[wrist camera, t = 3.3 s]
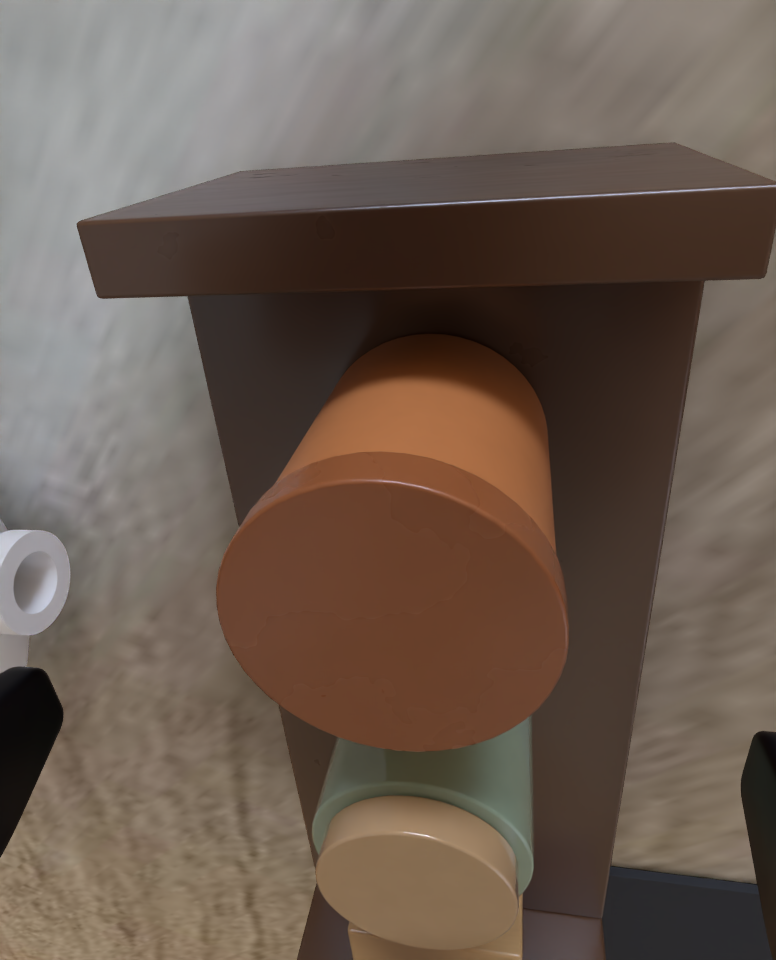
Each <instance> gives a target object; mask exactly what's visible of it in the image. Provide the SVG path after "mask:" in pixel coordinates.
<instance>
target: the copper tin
mask: <svg viewBox="0 0 776 960" xmlns="http://www.w3.org/2000/svg"><path fill="white" fill-rule="evenodd" d="M216 597H217V610H218V616H219V621H220V625H221V627H222V630H223V633H224V636H225V639H226V641H227V643H228V645H229V647H230V649H231V651H232V653H233V655H234V656H235V658H236V659H237V661H238V662H239V664H240V665H241V667H242V668H243V670H244V671H245V672H246V673H247V675H248V676H249V677H250V678H251V679H252V681H253V682H254V683H255V684H256V685H257V686H258V687H259V688H260V689H261V690H262V691H263V692H264V693H265V694H266V695H268V696H269V697H270V698H271V699H272V700H274V701H275V702H276V703H277V704H279V705H280V706H281V707H282V708H284V709H285V710H287V711H288V712H290V713H291V714H293V715H294V716H296V717H298V718H299V719H301V720H302V721H304V722H306V723H308V724H310V725H312V726H314V727H316V728H318V729H320V730H322V731H325V732H327V733H329V734H332V735H334V736H337V737H339V738H343V739H346V740H349V741H352V742H355V743H359V744H363V745H367V746H372V747H376V748H382V749H389V750H396V751H412V752H425V751H442V750H450V749H457V748H462V747H466V746H470V745H474V744H478V743H481V742H483V741H486V740H489V739H492V738H495V737H497V736H499V735H501V734H503V733H505V732H507V731H509V730H511V729H512V728H514V727H515V726H517V725H518V724H520V723H521V722H523V721H525V720H526V719H527V718H528V717H529V716H530V715H532V714H533V713H534V712H535V711H536V710H537V709H538V708H539V707H540V706H541V705H542V704H543V703H544V701H545V700H546V699H547V698H548V697H549V695H550V694H551V692H552V691H553V689H554V687H555V685H556V684H557V682H558V680H559V679H560V676H561V674H562V671H563V668H564V665H565V663H566V659H567V653H568V647H569V619H568V607H567V595H566V588H565V582H564V577H563V572H562V570H561V567H560V564H559V561H558V559H557V556H556V544H555V529H554V515H553V501H552V487H551V472H550V458H549V444H548V430H547V424H546V419H545V415H544V412H543V409H542V406H541V403H540V401H539V399H538V397H537V395H536V393H535V391H534V389H533V388H532V386H531V385H530V384H529V382H528V381H527V379H526V378H525V377H524V376H523V375H522V374H521V372H520V371H519V370H518V369H517V368H516V367H515V366H514V365H512V364H511V363H510V362H509V361H508V360H506V359H505V358H504V357H503V356H501V355H499V354H498V353H496V352H495V351H493V350H491V349H490V348H488V347H485V346H483V345H481V344H479V343H477V342H474V341H471V340H467V339H464V338H461V337H456V336H450V335H445V334H419V335H411V336H406V337H401V338H397V339H394V340H391V341H389V342H386V343H383V344H381V345H379V346H377V347H376V348H374V349H372V350H370V351H369V352H367V353H366V354H364V355H363V356H362V357H360V358H359V359H358V360H357V361H356V362H354V363H353V364H352V365H351V366H350V367H349V368H348V369H347V371H346V372H345V373H344V375H343V376H342V377H341V378H340V380H339V381H338V383H337V385H336V386H335V388H334V390H333V391H332V393H331V394H330V396H329V398H328V399H327V401H326V402H325V404H324V406H323V407H322V409H321V410H320V412H319V414H318V415H317V417H316V419H315V420H314V422H313V423H312V425H311V427H310V428H309V430H308V431H307V433H306V435H305V436H304V438H303V439H302V441H301V443H300V444H299V446H298V448H297V449H296V451H295V452H294V454H293V456H292V457H291V459H290V460H289V462H288V464H287V465H286V467H285V468H284V470H283V472H282V473H281V475H280V477H279V478H278V480H277V481H276V483H275V484H274V485H273V486H272V487H271V488H270V489H269V490H268V491H267V492H265V493H264V494H263V495H262V496H261V497H260V499H259V500H258V501H257V502H256V504H255V505H254V506H253V507H252V509H251V510H250V511H249V513H248V515H247V516H246V518H245V519H244V521H243V522H242V524H241V525H240V527H239V529H238V530H237V532H236V533H235V535H234V536H233V538H232V540H231V542H230V544H229V545H228V547H227V549H226V551H225V553H224V556H223V558H222V561H221V564H220V567H219V572H218V578H217V585H216Z"/></svg>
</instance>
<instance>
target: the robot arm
mask: <svg viewBox="0 0 776 960" xmlns="http://www.w3.org/2000/svg"><path fill="white" fill-rule="evenodd" d="M63 715H64V713H63V707H62V705H61V703H60V700H59V698H58V696H57V694H56V692H55V690H54V687H53V685H52V683H51V681H50V679H49V676H48V675H47V673H46V672H45V671H44V670H42V669H40V668H33V667H22V666H17V667H12V668H9V669H7V670H5V671H4V672H2V673H0V857H1V856H2V854H3V852H4V850H5V848H6V846H7V844H8V842H9V841H10V839H11V837H12V835H13V833H14V831H15V829H16V826H17V824H18V822H19V820H20V818H21V816H22V814H23V811H24V809H25V807H26V805H27V803H28V800H29V798H30V796H31V794H32V791H33V789H34V787H35V785H36V782H37V780H38V778H39V776H40V774H41V771H42V769H43V767H44V765H45V762H46V760H47V758H48V756H49V753H50V751H51V749H52V747H53V744H54V742H55V740H56V738H57V736H58V733H59V731H60V729H61V726H62V722H63ZM741 797H742V803H743V808H744V814H745V819H746V825H747V830H748V836H749V841H750V847H751V852H752V858H753V863H754V869H755V874H756V880H757V885H758V891H759V896H760V902H761V907H762V913H763V918H764V923H765V928H766V933H767V938H768V943H769V947H770V951H771V955H772V958H773V960H776V732H767V731H760V732H758V733H756V734H755V735H754V737H753V739H752V743H751V746H750V749H749V753H748V756H747V760H746V763H745V767H744V770H743V774H742V778H741Z"/></svg>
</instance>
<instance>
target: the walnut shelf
mask: <svg viewBox="0 0 776 960" xmlns="http://www.w3.org/2000/svg"><path fill="white" fill-rule="evenodd" d="M77 229H78V232H79V236H80V239H81V242H82V246H83V249H84V253H85V256H86V260H87V263H88V267H89V270H90V273H91V277H92V280H93V284H94V287H95V291H96V294H97V296H98V298H102V299H108V298H141V297H175V296H188V300H189V305H190V309H191V314H192V318H193V323H194V327H195V332H196V336H197V341H198V345H199V350H200V354H201V359H202V363H203V368H204V372H205V377H206V381H207V385H208V390H209V394H210V399H211V403H212V408H213V412H214V417H215V421H216V426H217V430H218V435H219V439H220V444H221V448H222V453H223V457H224V462H225V466H226V471H227V475H228V480H229V484H230V489H231V493H232V498H233V502H234V507H235V511H236V516H237V520H238V525H239V527H240V525H241V524H242V522H243V521H244V519H245V518H246V516H247V515H248V513H249V511H250V510H251V509H252V507H253V506H254V505H255V504H256V502H257V501H258V500H259V499H260V497H261V496H262V495H263V494H264V493H265V492H267V491H268V490H269V489H270V488H271V487H272V486H273V485H274V484H275V483H276V481H277V480H278V478H279V477H280V475H281V473H282V472H283V470H284V468H285V467H286V465H287V464H288V462H289V460H290V459H291V457H292V456H293V454H294V452H295V451H296V449H297V448H298V446H299V444H300V443H301V441H302V439H303V438H304V436H305V435H306V433H307V431H308V430H309V428H310V427H311V425H312V423H313V422H314V420H315V419H316V417H317V415H318V414H319V412H320V410H321V409H322V407H323V406H324V404H325V402H326V401H327V399H328V398H329V396H330V394H331V393H332V391H333V390H334V388H335V386H336V385H337V383H338V381H339V380H340V378H341V377H342V376H343V375H344V373H345V372H346V371H347V369H348V368H349V367H350V366H351V365H352V364H353V363H354V362H356V361H357V360H358V359H359V358H360V357H362V356H363V355H364V354H366V353H367V352H369V351H370V350H372V349H374V348H376V347H377V346H379V345H381V344H383V343H386V342H389V341H391V340H394V339H397V338H401V337H406V336H411V335H419V334H445V335H450V336H456V337H461V338H464V339H467V340H471V341H474V342H477V343H479V344H481V345H483V346H485V347H488V348H490V349H491V350H493V351H495V352H496V353H498V354H499V355H501V356H503V357H504V358H505V359H506V360H508V361H509V362H510V363H511V364H512V365H514V366H515V367H516V368H517V369H518V370H519V371H520V372H521V374H522V375H523V376H524V377H525V378H526V379H527V381H528V382H529V384H530V385H531V386H532V388H533V389H534V391H535V393H536V395H537V397H538V399H539V401H540V403H541V406H542V409H543V412H544V415H545V419H546V424H547V430H548V444H549V458H550V472H551V487H552V501H553V515H554V529H555V544H556V556H557V559H558V561H559V564H560V567H561V570H562V572H563V577H564V582H565V588H566V595H567V607H568V619H569V647H568V653H567V659H566V663H565V665H564V668H563V671H562V674H561V676H560V679H559V680H558V682H557V684H556V685H555V687H554V689H553V691H552V692H551V694H550V695H549V697H548V698H547V699H546V700H545V701H544V703H543V704H542V705H541V706H540V707H539V708H538V709H537V710H536V711H535V712H534V713H533V714H532V743H533V815H534V871H533V876H532V878H531V881H530V883H529V885H528V887H527V888H526V890H525V891H524V892H523V957H522V960H606V955H605V944H604V934H603V923H602V916H603V910H604V904H605V898H606V891H607V885H608V879H609V873H610V866H611V860H612V854H613V848H614V842H615V835H616V829H617V823H618V817H619V811H620V804H621V798H622V792H623V786H624V779H625V773H626V767H627V761H628V755H629V748H630V742H631V736H632V730H633V723H634V717H635V711H636V705H637V699H638V692H639V686H640V680H641V674H642V667H643V661H644V655H645V649H646V643H647V636H648V630H649V624H650V618H651V611H652V605H653V599H654V593H655V587H656V580H657V574H658V568H659V562H660V555H661V549H662V543H663V537H664V531H665V524H666V518H667V512H668V506H669V499H670V493H671V487H672V481H673V475H674V468H675V462H676V456H677V450H678V444H679V437H680V431H681V425H682V419H683V412H684V406H685V400H686V394H687V388H688V381H689V375H690V369H691V363H692V356H693V350H694V344H695V338H696V332H697V325H698V319H699V313H700V307H701V300H702V294H703V288H704V282H705V281H708V280H741V279H761V278H764V277H765V275H766V273H767V268H768V263H769V258H770V253H771V249H772V244H773V239H774V234H775V229H776V182H775V181H773V180H770V179H768V178H765V177H763V176H760V175H757V174H755V173H752V172H750V171H747V170H744V169H742V168H739V167H737V166H734V165H732V164H729V163H726V162H724V161H721V160H719V159H716V158H713V157H711V156H708V155H706V154H703V153H701V152H698V151H695V150H693V149H690V148H688V147H685V146H682V145H680V144H677V143H675V142H674V143H659V144H644V145H629V146H614V147H599V148H584V149H569V150H554V151H539V152H524V153H509V154H494V155H479V156H463V157H448V158H433V159H418V160H403V161H388V162H373V163H358V164H343V165H328V166H313V167H298V168H283V169H268V170H253V171H240V172H236V173H233V174H230V175H227V176H224V177H220V178H217V179H214V180H211V181H207V182H204V183H201V184H198V185H194V186H191V187H188V188H185V189H181V190H178V191H175V192H172V193H168V194H165V195H162V196H159V197H156V198H152V199H149V200H146V201H143V202H139V203H136V204H133V205H130V206H126V207H123V208H120V209H117V210H113V211H110V212H107V213H104V214H101V215H97V216H94V217H91V218H88V219H84V220H81V221H79V222H78V223H77ZM279 709H280V713H281V718H282V722H283V727H284V731H285V736H286V740H287V745H288V749H289V754H290V758H291V763H292V767H293V772H294V776H295V781H296V785H297V789H298V794H299V798H300V803H301V807H302V812H303V816H304V821H305V825H306V830H307V834H308V839H309V843H310V848H311V852H312V857H313V861H314V866H315V870H316V863H317V860H318V856H319V855H318V853H317V852H316V850H315V846H314V843H313V838H312V822H313V819H314V815H315V812H316V808H317V805H318V801H319V798H320V794H321V791H322V787H323V784H324V780H325V777H326V773H327V770H328V766H329V763H330V759H331V756H332V752H333V749H334V745H335V742H336V738H337V736H334V735H332V734H329V733H327V732H325V731H322V730H320V729H318V728H316V727H314V726H312V725H310V724H308V723H306V722H304V721H302V720H301V719H299V718H298V717H296V716H294V715H293V714H291V713H290V712H288V711H287V710H285V709H284V708H282V707H281V706H280V705H279ZM348 925H349V921H348V920H346V919H345V918H344V917H342V916H341V915H340V914H339V913H337V912H336V911H335V910H334V909H333V908H332V907H331V906H330V905H329V904H328V902H327V901H326V900H325V898H324V897H323V896H322V894H321V892H320V890H319V888H318V885H317V884H316V887H315V891H314V895H313V899H312V903H311V907H310V911H309V915H308V918H307V922H306V926H305V930H304V934H303V938H302V942H301V946H300V949H299V953H298V957H297V960H353V955H352V950H351V945H350V940H349V935H348Z"/></svg>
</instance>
